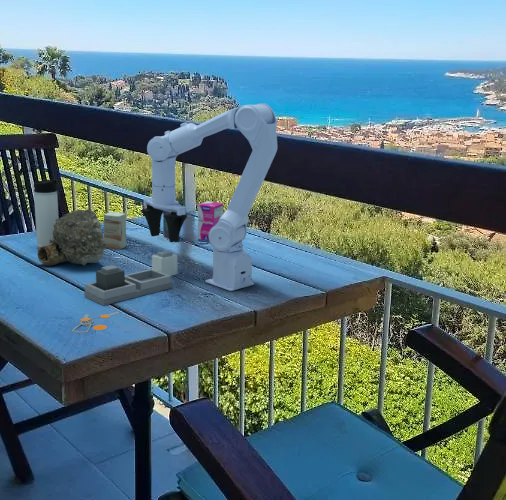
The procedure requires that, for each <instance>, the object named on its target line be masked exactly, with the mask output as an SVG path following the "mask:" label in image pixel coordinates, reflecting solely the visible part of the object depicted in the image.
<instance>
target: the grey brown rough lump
mask: <svg viewBox="0 0 506 500" xmlns="http://www.w3.org/2000/svg"><path fill="white" fill-rule="evenodd" d="M55 221H56V223H55V225H53V226H54V229H53V236H52V242H51V243H52V244H50V245H48V246H42V247H40V249H39V250H38V249H37V259H38V261H40V262H39V263H42V264H43V265H44V266H49V267H50V266H55V265H56V266H57V265H59V264H61V263H62V264H63V263H66V262H70V263H71V264H76V265H82V266H86V264H87V263H89V264H97V263H99V262H100V261H101V260H103V256H104V250H105V249H107V248H106V246H107V245H106V241H105V240H104V231H103V230H102V228H101V227H102V226H101V222H100V220H99V219H98V217H97V213H96V212H95V211H93V210H91V209H90V208H87V209H85V210H84V209H77V210H73V211H72V212H68V213H66V214H63V216H61V217H59V219H56V220H55Z"/></svg>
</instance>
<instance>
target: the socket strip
mask: <svg viewBox="0 0 506 500" xmlns="http://www.w3.org/2000/svg"><path fill="white" fill-rule="evenodd" d="M84 285H85V289H84V290H85V291H84V292H83V294H84V295H83V296H84V298H87V299H89V300H91V301H93V302H95V303H97V304H98V305H102V306H107V305H112V304H116V303H119V301H120V302H123V301H127V300H130V299H135V298H139V297H141V296H142V297H143V296H146V295H150V294H153V293H157V292H162V291H166V290H169V289H172V288H173V283H172V276H170V275H167V274H164V273H162V272H159V271H156V270H153V269H152V268H150V269H145V270H141V271H137V272H132V273H127V274H125V286H122V287H118V288H114V289H110V290H105V291H104V290H102V289H100V288H97V287H96V281H94V282H92V281H91V282H90V283H85V284H84ZM115 302H116V303H115Z"/></svg>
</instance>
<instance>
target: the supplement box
mask: <svg viewBox="0 0 506 500" xmlns="http://www.w3.org/2000/svg"><path fill="white" fill-rule="evenodd" d="M197 210H198V212H197V216H198V217H197V228H198V229H197V241H199V242H200V241H201V242H205V243H206V242H207V243H210V241H209V232H210V230H211V228H212V227H214V226H215V225H216V224H217V223H218V221H219V219H220V217H221V216H222V215H223V214H224V203H222V202H217V201H216V202H215V201H209V200H207V201H205V202H202V203H199V204H198V205H197Z"/></svg>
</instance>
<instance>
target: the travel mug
mask: <svg viewBox="0 0 506 500" xmlns="http://www.w3.org/2000/svg"><path fill="white" fill-rule="evenodd" d="M58 182H59V179H58V178H53V179H44V180H38V181H36V182H34V183H33V199H34V216H35V230H36V243H37V244H36V245H37V246H36V247H37V251H38V250H39V249H40V247H42V246H48V245H50V244H52V243H51V242H52V236H53V229H54V226H53V225H55V223H56V221H55V220H56V219H60V217H59V201H58V187H57V183H58Z"/></svg>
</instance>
